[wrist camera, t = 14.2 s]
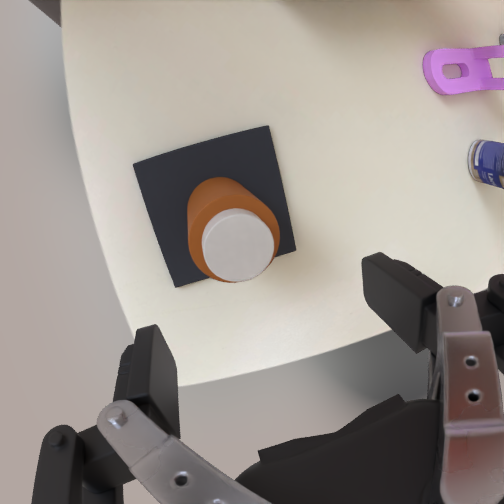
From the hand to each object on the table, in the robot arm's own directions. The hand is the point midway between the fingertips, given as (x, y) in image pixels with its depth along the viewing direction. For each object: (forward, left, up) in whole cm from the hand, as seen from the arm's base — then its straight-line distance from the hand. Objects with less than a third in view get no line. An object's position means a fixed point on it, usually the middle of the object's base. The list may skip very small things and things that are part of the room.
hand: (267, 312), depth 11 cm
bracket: (+32, +10, -18) cm, 38 cm away
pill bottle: (+34, -2, -18) cm, 39 cm away
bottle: (0, 0, -17) cm, 17 cm away
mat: (0, 0, -18) cm, 18 cm away
